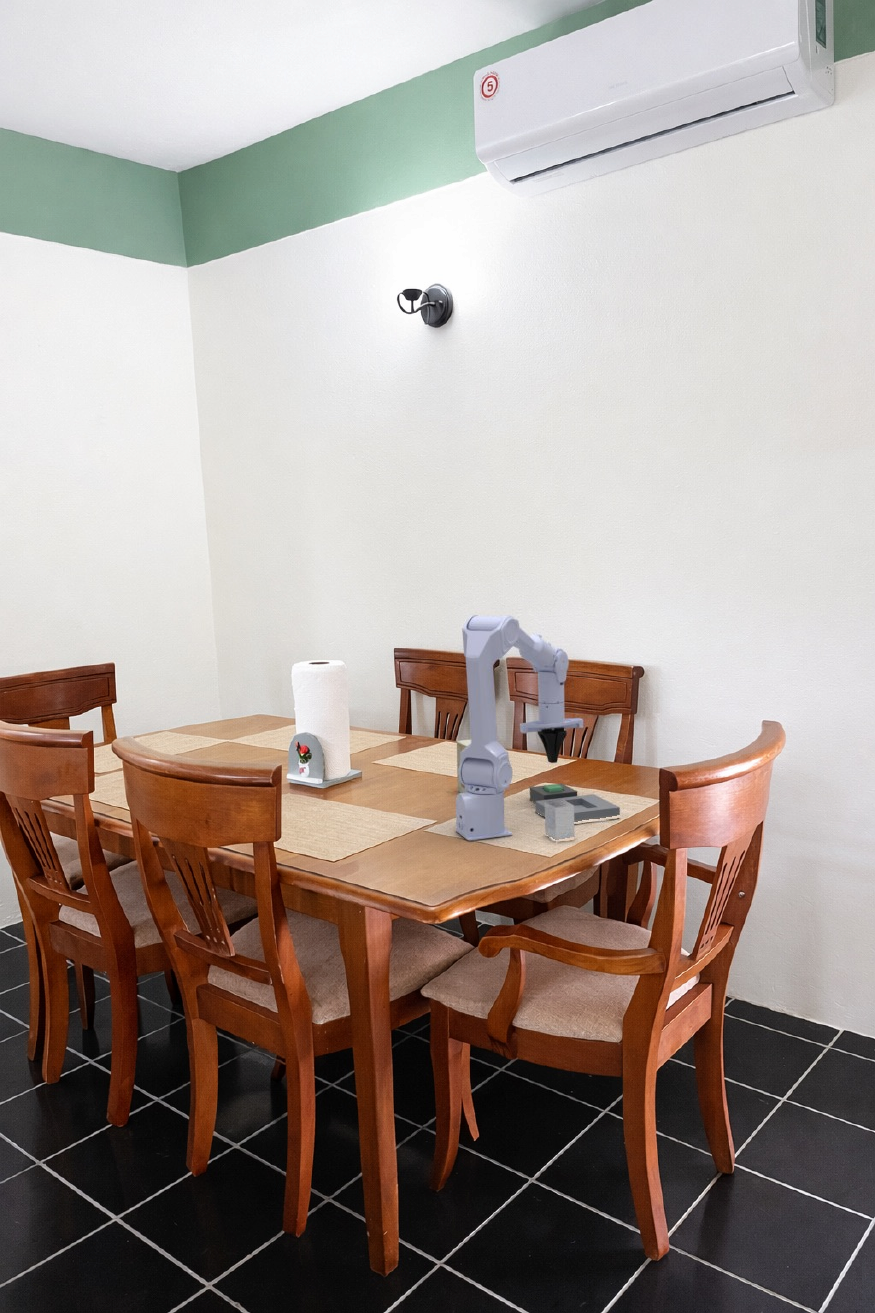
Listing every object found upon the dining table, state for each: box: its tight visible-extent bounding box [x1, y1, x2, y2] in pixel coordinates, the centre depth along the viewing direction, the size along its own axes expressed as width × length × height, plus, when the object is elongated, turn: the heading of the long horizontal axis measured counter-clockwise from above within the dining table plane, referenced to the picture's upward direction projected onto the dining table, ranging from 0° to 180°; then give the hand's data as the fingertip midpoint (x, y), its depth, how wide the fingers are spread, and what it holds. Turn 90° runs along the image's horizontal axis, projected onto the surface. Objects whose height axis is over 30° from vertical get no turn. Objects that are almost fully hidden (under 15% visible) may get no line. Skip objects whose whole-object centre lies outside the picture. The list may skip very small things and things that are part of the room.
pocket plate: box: [534, 793, 621, 822], centre depth 212 cm, size 14×12×2 cm
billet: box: [544, 800, 576, 840], centre depth 197 cm, size 4×5×7 cm
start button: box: [543, 783, 563, 792], centre depth 223 cm, size 3×3×2 cm
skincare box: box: [456, 738, 471, 793], centre depth 234 cm, size 6×4×12 cm
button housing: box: [529, 783, 578, 803], centre depth 224 cm, size 8×8×3 cm
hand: (552, 762), depth 223 cm, fingers closed
